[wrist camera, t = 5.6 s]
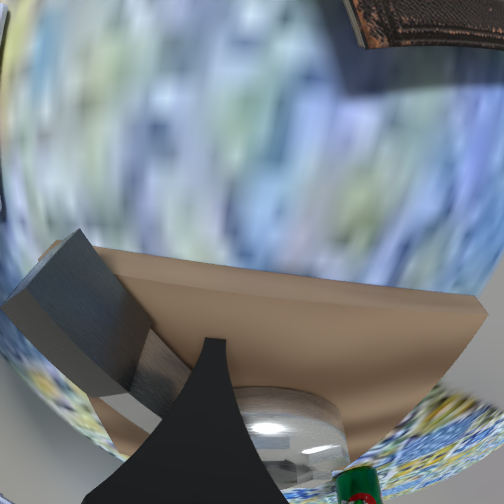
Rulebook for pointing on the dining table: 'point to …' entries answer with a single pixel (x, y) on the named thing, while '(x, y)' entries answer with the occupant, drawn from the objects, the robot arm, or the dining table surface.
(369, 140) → the dining table surface
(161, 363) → the silver mechanical part
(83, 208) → the dining table surface
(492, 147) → the dining table surface
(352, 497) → the soda can
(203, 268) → the walnut board
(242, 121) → the dining table surface
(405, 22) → the hardcover book
